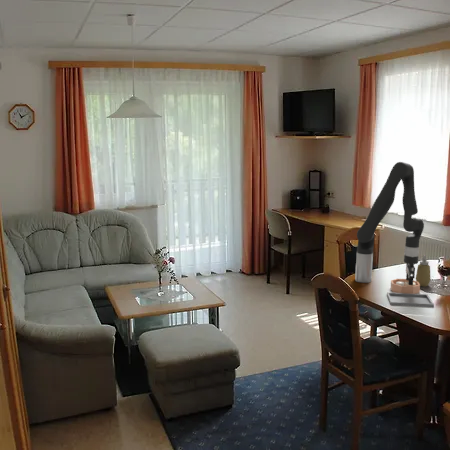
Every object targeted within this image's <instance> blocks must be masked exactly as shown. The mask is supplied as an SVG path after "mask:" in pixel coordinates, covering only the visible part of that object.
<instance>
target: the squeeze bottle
mask: <svg viewBox="0 0 450 450" xmlns="http://www.w3.org/2000/svg"><path fill="white" fill-rule="evenodd" d="M429 262H430V261H428V260H427V255H426V254H424V255H423V256H422V259H421V260H420V261H419V264H417V269H416V275H415V281H417V282H419V284H420V287H428V286H429V284H430V282H431V265H430V264H429Z"/></svg>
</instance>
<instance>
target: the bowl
mask: <svg viewBox="0 0 450 450" xmlns="http://www.w3.org/2000/svg"><path fill="white" fill-rule="evenodd" d="M396 282H404V283H405V282H409V281H408V280H406V278H396V279H391V280H390V290H391V292H392V293H410V294H421V293H420V292H421V286H420V284H419V282H417V281H416V280H414V279H413V282H415V284H416V285H415V286H405V284H404V286H401V285H397V284H396Z"/></svg>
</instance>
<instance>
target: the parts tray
mask: <svg viewBox="0 0 450 450" xmlns="http://www.w3.org/2000/svg"><path fill="white" fill-rule="evenodd" d="M386 297H387V300H388V301H389V304H390V305H391V306H405V307H410V306H411V307H422V308H423V307H426V308H434V307H435V304H434V302H433V301H432V299H431V298H430V295H429V294H427V293H417V294H410V293H396V292H390V291H389V292H386Z"/></svg>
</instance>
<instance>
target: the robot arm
mask: <svg viewBox="0 0 450 450" xmlns="http://www.w3.org/2000/svg"><path fill="white" fill-rule="evenodd" d="M401 181H402V185H403V193H402V207H403V211H404V212H403V214H404V215H403V223H402V225H403V226H402V227H403V229H404V230H405V231H406V232H408V233H411V234H409V235H407V236H406V237H405V244H404V245H405V246H404V252H403V263H405V265H406V266H405V273H406V275H405V277H406V278H405V279H406V280H408V281H409V283H408V284H409V285H413V280H414V279H416V275H415V273H416V266H415V265H418V263H419V255H420V239H421V237H422V234H423V231H424V228H425V223H424V220H423V219H422V218H412V217H413V216H415V215H417V214H418V205H417V200H416V192H415V170H414V167H413V166H412V164H409V163H407V162H404V161H398V162H395V164H394V165H393V167H392V168H391V170H390V172H389V175H388V176H387V179H386V182H385V183H384V185H383V186H382V188H381V191H380V192H379V194H378V196H377V197H376V199H375V201H374V202H373V204H372V206H371V208H370V211H369V212H368V216H367V218H366V219H365V221H364V222H363V224H362V225H361V226H360V228H359V229H358V230H357V233H356V237H357V246H356V247H357V248H356V261H355V262H356V263H355V275H354V276H355V282H357V283H364V284H365V283H371V282H372V278H373V257H374V247H375V233H376V229H377V227H378V226H379V224H380V223H381V222H382V221H383V219H384V218H385V216H387V214H388V212H389V211H390V209H391V208H392V206H393V204H394V201H395V197H396V190H397V187H398V185H399V183H401Z"/></svg>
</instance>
